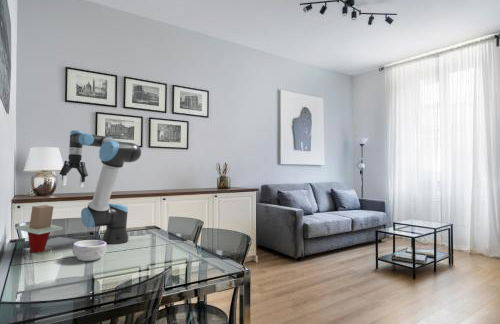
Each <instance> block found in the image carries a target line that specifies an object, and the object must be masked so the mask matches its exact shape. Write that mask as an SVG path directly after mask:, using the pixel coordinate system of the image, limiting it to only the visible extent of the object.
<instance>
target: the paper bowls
mask: <svg viewBox="0 0 500 324" xmlns="http://www.w3.org/2000/svg"><path fill="white" fill-rule="evenodd" d="M82 240H83V241H78V242H75V243H74V244H73V246H72V254H73V256H75V257H76V258H77V260H79V261H82V262H89V261H91V262H92V261H96V260H99V259H100V258H101V257H102V255H105V253H106V252H107V245H108V243H106V242H104V241H102V240H100V239H85V240H84V239H82Z"/></svg>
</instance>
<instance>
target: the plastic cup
mask: <svg viewBox="0 0 500 324" xmlns="http://www.w3.org/2000/svg"><path fill="white" fill-rule="evenodd" d="M50 233H51V232H48V233H43V234H34V233H30V232H27V234H28V244H29V248H30V249H29V250H30V253H43V252H45V249H46V247H45V246H46V243H47V240H48V239H49V236H50Z"/></svg>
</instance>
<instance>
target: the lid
mask: <svg viewBox="0 0 500 324" xmlns="http://www.w3.org/2000/svg"><path fill="white" fill-rule="evenodd" d="M53 212H54V206H52V205H48V204H44V205H43V204H42V205H35V206H32V207H31V213H30V219H29V224H24V225H18V226H15V227H14V229H15V230H17V231H22V232H25V233H26V232H27V233H28V232H30V233H34V234H43V233H48V232H50V233H51V232H57V231H61V230H64V227H63V226H59V225H55V224H52V218H53Z"/></svg>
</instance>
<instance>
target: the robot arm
mask: <svg viewBox="0 0 500 324" xmlns="http://www.w3.org/2000/svg"><path fill="white" fill-rule="evenodd" d="M83 146H86V147H87V146H89V147H99V151H98V153H99V154H98V157H99V159H100V162H101V164H102V167H101V171H100V174H99V177H98V181H97V183H96V188H95V191H94V194H93V197H92V200H91V201H89V202H88V204H87V207H86V206H85V207H83V208H82V210H81V212H80V219H81V222H82V225H83V226H84V227H85V228H97V227H98V228H99V227H105V230H104V233H103V236H102V237H101V238H102V239H101V241H104V242H106V243H107V245H109V244H110V245H114V244H115V245H119V244H124V243H123V242H125V243H127V242H126V241H128V242H129V234H128V230H127V223H128V211H129V209H128V208H129V207H128V206H127V205H124V204H119V203H109V202H110V198H111V195H112V193H113V189H114V187H115V183H116V179H117V176H118V173H119V170H120V169H122V168H123V166H124V164H125V163H134V162H136V161H138V160H139V159H140V157H141V155H142V149H141V148H140V146H139V145H138V144H136V143H133V142H127V141H126V142H125V141H120V140H118V139H115V138H113V137H112V136H109V135H108V136H107V135H105V136H104V135H96V134H90V133H86V132H83V131H82V130H74V129H73V130H72V129H71V131H70V134H69V147H68V157H67V159H68V160H64V163H63V166H62V168H61V169H60V171H59V175H61V181H62V183H61V186H62V187H63V186H67V182H68V181H67V180H68V173H70V171H71V170H72V169H76V170H77V172H78V173H79V175H80V177H79V188H84V186H85V182H86V177H88V176H89V174H88V170H87V168H86V163H85V161H82V156H83V155H82V154H83Z"/></svg>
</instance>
